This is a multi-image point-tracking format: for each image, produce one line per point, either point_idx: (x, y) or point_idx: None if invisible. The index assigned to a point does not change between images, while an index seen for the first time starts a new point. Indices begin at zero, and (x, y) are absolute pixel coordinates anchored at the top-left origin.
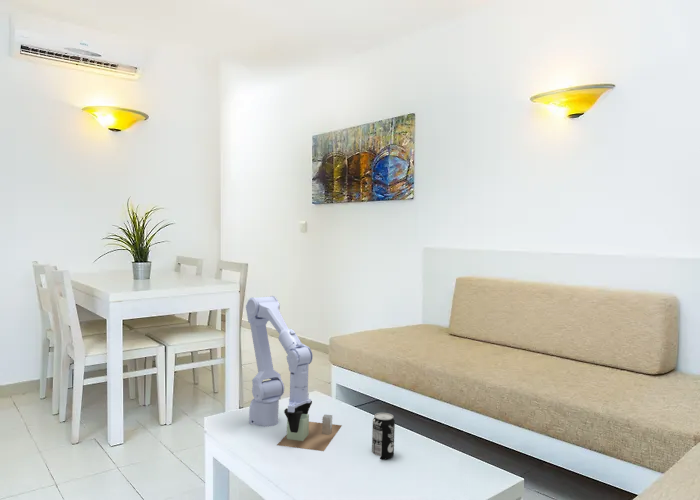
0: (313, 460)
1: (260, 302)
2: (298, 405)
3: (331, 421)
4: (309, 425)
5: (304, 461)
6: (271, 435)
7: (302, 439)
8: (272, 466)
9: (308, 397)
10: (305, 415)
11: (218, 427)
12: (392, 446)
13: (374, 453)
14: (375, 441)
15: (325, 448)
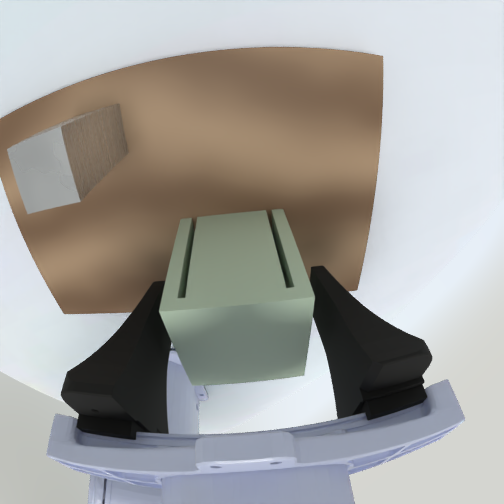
0: (432, 97)
1: None
2: (409, 429)
3: (50, 128)
4: (74, 264)
5: (444, 134)
6: None
7: (284, 216)
8: (473, 229)
9: (56, 422)
10: (198, 323)
11: (238, 422)
12: None
13: None
14: None
15: (347, 51)
